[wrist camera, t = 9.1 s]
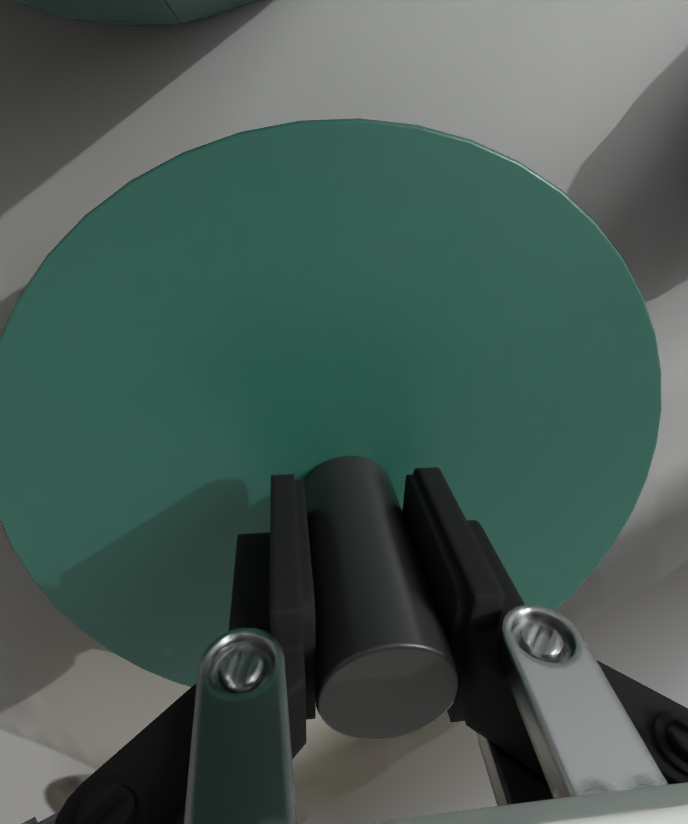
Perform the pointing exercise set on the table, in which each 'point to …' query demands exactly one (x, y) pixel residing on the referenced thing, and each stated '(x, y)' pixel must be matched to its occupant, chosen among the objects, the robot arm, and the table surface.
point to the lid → (322, 396)
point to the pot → (135, 10)
